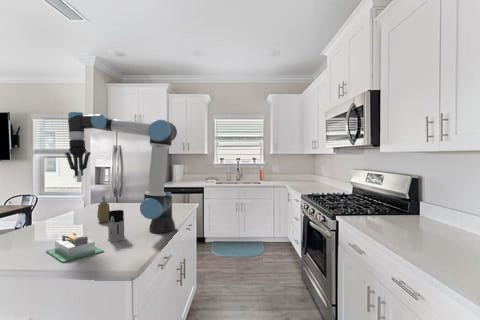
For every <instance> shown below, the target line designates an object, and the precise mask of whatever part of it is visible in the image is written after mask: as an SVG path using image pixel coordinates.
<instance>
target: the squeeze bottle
mask: <svg viewBox="0 0 480 320" xmlns="http://www.w3.org/2000/svg"><path fill="white" fill-rule="evenodd" d="M109 211H111V209H110V204H109V203H108V200H106V196H105V195H102V198H101V200H100V201H99V204H98V206H97V217H96V218H97V219H98V222H99V223H108V220H109V214H108V212H109Z"/></svg>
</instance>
